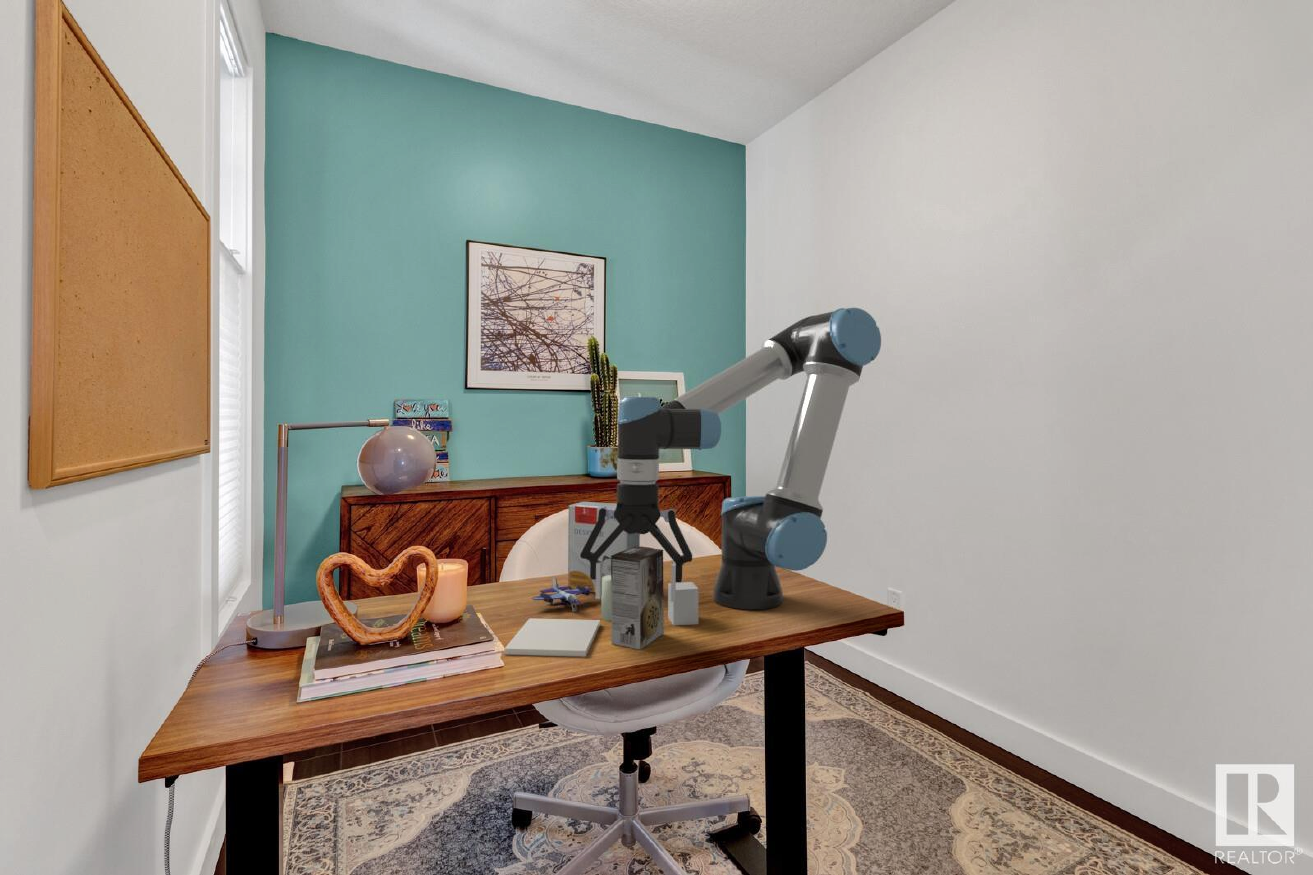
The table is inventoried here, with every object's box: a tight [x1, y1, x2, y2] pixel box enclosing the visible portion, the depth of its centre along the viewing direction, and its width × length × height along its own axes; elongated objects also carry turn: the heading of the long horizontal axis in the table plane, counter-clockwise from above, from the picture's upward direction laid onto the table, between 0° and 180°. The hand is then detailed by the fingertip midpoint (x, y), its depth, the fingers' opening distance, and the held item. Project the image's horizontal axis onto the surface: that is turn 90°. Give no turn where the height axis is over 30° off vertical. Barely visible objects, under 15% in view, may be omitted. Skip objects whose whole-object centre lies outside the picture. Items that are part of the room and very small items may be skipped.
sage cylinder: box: [600, 575, 611, 622], centre depth 127 cm, size 5×5×8 cm
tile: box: [504, 618, 601, 658], centre depth 115 cm, size 14×16×1 cm
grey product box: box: [610, 545, 665, 650], centre depth 115 cm, size 9×6×16 cm
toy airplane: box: [531, 577, 592, 613], centre depth 134 cm, size 13×14×4 cm
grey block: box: [667, 581, 700, 626], centre depth 126 cm, size 5×5×7 cm
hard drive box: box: [567, 501, 641, 594], centre depth 147 cm, size 16×8×20 cm, turn 67°
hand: (635, 598), depth 115 cm, fingers open, 13 cm apart
